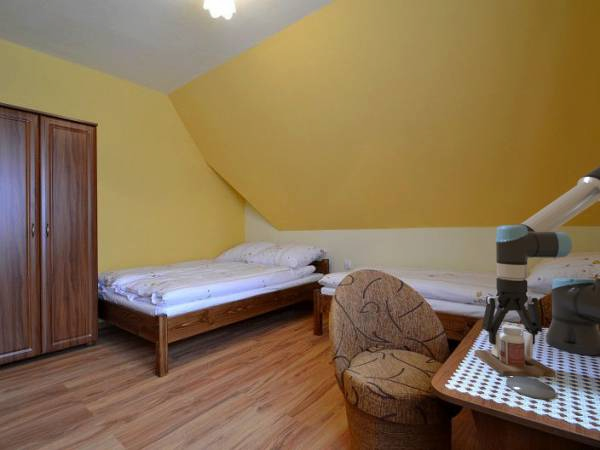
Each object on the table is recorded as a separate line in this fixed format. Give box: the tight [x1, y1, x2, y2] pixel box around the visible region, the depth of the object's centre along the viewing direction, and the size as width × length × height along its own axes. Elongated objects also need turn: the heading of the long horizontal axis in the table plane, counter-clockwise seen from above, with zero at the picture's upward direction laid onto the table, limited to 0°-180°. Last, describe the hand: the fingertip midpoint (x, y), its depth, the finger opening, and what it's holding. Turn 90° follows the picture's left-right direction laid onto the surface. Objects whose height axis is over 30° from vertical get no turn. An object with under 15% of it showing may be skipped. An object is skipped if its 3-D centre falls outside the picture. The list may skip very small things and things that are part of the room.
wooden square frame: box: [474, 349, 556, 378], centre depth 91 cm, size 14×14×2 cm
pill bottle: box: [499, 324, 526, 366], centre depth 91 cm, size 6×6×11 cm
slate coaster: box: [505, 376, 557, 400], centre depth 78 cm, size 10×10×1 cm
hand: (511, 355), depth 91 cm, fingers open, 9 cm apart
